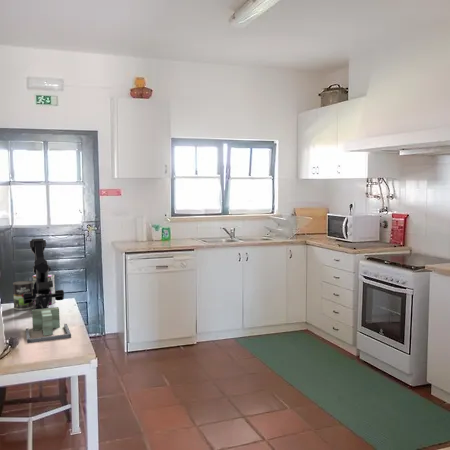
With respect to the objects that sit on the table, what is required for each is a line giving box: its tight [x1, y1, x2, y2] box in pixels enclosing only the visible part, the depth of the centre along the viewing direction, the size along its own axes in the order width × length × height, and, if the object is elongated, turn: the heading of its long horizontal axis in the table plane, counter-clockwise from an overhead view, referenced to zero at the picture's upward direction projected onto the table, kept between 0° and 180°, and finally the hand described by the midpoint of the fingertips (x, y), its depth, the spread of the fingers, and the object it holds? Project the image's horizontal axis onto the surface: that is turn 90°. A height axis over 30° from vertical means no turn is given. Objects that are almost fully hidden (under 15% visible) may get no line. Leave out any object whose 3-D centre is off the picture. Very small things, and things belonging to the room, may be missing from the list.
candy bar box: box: [31, 274, 56, 305], centre depth 285 cm, size 11×5×16 cm, turn 84°
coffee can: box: [12, 280, 35, 311], centre depth 277 cm, size 10×10×14 cm
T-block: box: [31, 306, 61, 337], centre depth 236 cm, size 14×12×9 cm
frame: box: [25, 323, 72, 344], centre depth 230 cm, size 18×18×2 cm
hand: (45, 311), depth 242 cm, fingers closed, pressing on T-block
